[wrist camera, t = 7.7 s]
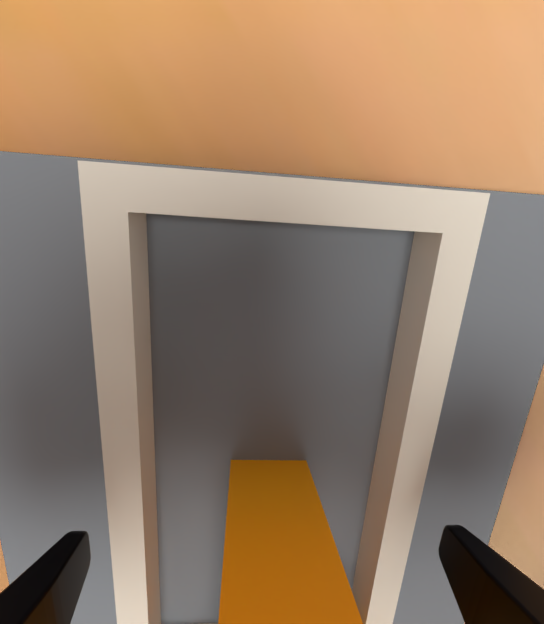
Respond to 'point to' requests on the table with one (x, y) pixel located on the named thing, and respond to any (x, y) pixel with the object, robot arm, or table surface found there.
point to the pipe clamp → (280, 550)
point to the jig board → (257, 370)
